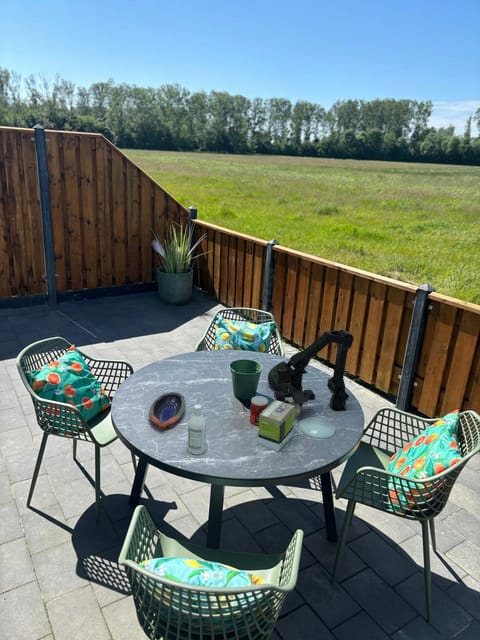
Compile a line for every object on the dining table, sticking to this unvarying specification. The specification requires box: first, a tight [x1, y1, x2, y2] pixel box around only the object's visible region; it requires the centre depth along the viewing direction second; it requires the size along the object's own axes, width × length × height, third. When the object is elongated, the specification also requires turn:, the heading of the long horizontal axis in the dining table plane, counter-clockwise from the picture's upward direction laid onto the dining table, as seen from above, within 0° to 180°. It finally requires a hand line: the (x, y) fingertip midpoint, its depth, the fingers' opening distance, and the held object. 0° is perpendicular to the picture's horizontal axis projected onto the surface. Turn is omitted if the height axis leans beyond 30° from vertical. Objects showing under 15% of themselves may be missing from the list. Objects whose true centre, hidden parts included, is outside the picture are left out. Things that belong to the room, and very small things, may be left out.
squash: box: [267, 361, 289, 393], centre depth 239 cm, size 14×15×15 cm
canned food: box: [249, 395, 269, 427], centre depth 206 cm, size 8×8×11 cm
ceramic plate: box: [298, 416, 336, 440], centre depth 204 cm, size 16×16×1 cm
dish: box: [148, 391, 186, 430], centre depth 208 cm, size 16×31×5 cm, turn 175°
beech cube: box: [289, 401, 301, 417], centre depth 215 cm, size 5×5×5 cm
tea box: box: [257, 399, 295, 452], centre depth 192 cm, size 15×10×15 cm
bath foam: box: [187, 404, 207, 455], centre depth 182 cm, size 7×7×20 cm
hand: (292, 411), depth 215 cm, fingers closed on beech cube, 5 cm apart
